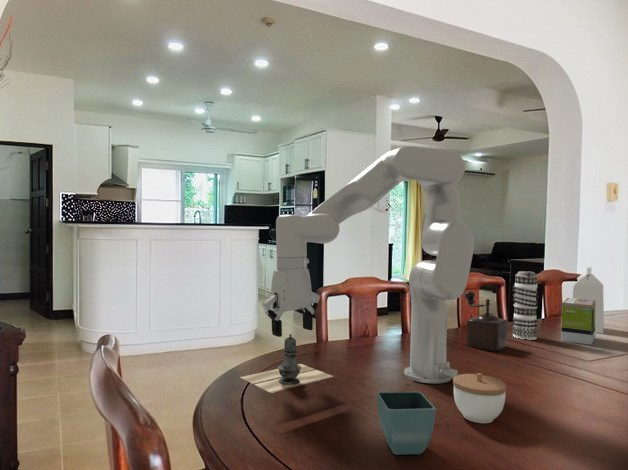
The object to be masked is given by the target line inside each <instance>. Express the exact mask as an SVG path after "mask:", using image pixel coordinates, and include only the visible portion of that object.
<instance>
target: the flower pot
mask: <svg viewBox="0 0 628 470" xmlns="http://www.w3.org/2000/svg"><path fill="white" fill-rule="evenodd" d="M376 400H377V401H376V403H377V413H378V421H379V425H380V428H381V432H382V434H383V437H384V438H385V441H386V443H387V444H388V446H389V449H391V450H390V451H391V452H392V454H393V455H401V456H402V455H421V454H423V452H425V450H426V449H427V447H428V445H429V444H430V442H431V439H432V435H433V430H434V424H435V417H436V411H437V409H436V407H435V406H434V404H433V403H432V402H431V401H430V400H429V399H428V398H427V396H425V395H424V393H422V392H421V391H377V392H376Z"/></svg>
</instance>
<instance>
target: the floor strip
mask: <svg viewBox="0 0 628 470" xmlns="http://www.w3.org/2000/svg"><path fill="white" fill-rule="evenodd" d="M296 364H297V363H296ZM297 365H299V366H301V369H300V373H304V372H308V371H312V370H316V368H314V367H310V366H308V365H305V364H302V363H298V364H297ZM300 373H299V374H300ZM239 378H240V379H242V380H244V381H245V382H248V383H249V384H252V385H255V384H259V383H263V382H267V381H271V380H275V379H279V378H283V377H282V376H281V375H280V372H279V369H278V368H275V369H272V370H271V369H270V370H267V371H261V372H258V373H253V374H250V375H249V374H248V375H244V376H240V377H239Z"/></svg>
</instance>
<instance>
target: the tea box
mask: <svg viewBox="0 0 628 470" xmlns="http://www.w3.org/2000/svg"><path fill="white" fill-rule="evenodd" d="M560 332H561V333H560V335H561V338H560V340H561V342H565V343H566V342H568V343H575V344H580V345H581V344H582V345H588V346H589V345H590V346H591V345H592V344H593V342H594V340H595V338H596V333H595V300H588V299H578V298H573V297H566V299H565V300H564V301H562V303H561V331H560Z"/></svg>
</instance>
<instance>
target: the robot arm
mask: <svg viewBox="0 0 628 470" xmlns="http://www.w3.org/2000/svg"><path fill="white" fill-rule="evenodd" d="M465 171H466V165H465V161H464V159H463V158H462V156H461V155H460V154H459V153H457V152H456V151H453V150H449V149H441V148H432V147H424V146H416V145H414V146H413V145H404V146H400V147H397V148H395V149H391V150H389V151H387V152H386V153H384V154H382V156H380V157H379V158H378V159H376V160H375V161H374V162H373V163H372V164H370V165H369V166H368V167H367V168H366V169H364V170H363V171H361V173H359V174H358V175H357V176H355V177H354V178H353V179H352V180H350V182H348V183H346V185H344V186H342V187H341V188H340V189H339V190H337V192H335V193H334V194H333V195H331V196H330V197H329V198H327V199H325V200H324V201H323V202H322V203H320V204H319V205H318V206H317V207H315V208H314V209H313V210H312V211H310V212H309V214H308V215H302V214H281V215H278V216H277V217H276V220H275V236H276V237H275V240H276V243H275V244H276V247H275V248H276V251H275V252H276V269H275V270H274V271H273V274H272V278H271V287H270V288H271V289H270V296H269V298H267V299H266V300H264V301H263V302H262V304H261V306H262V308H263V310H264V312H265V315H267V317H268V318H269V320H271V332H272V333H271V334H272V336H275V337H278V338H280V337H282V336H283V323H282V320H281V317H282V316H283V314H284V312H290V311H297V310H303V312H302V328H303V329H304V330H308V331H312V330H314V329H313V326H314V324H313V315H314V314H315V313H316V312H315V311H316V309H317V307H318V304H319V301H320V298H321V296H320V295H319V294H318V293H316V292H313V291H312V283H311V282H312V280H311V276H310V270H309V268H308V264H309V263H310V259H309V258H307V256H308V254H307V252H308V251H307V247H308V246H307V245H308V243H315V244H329V243H331V242H333V241H335V239H337V238H338V235H339V233H340V228H341V227H340V224H341V223H343V222H344V221H346V220H347V219H349V218H350V217H352V216H355V215H358V214H359V213H362V212H365V211H367V210H369V209H370V208H372V207H373V206H375V205H376V204H377V203H378V202H380V201H381V199H382V198H384V197H385V196H386V195H388V193H390V192H391V191H393V189H395V187H397V186H398V185H399V184H401V183H402V182H405V181H410V180H412V181H417V183H418V184H419V185H420V187H421V189H423V192H424V193H425V195H426V198H427V207H426V213H425V219H424V223H423V228H422V233H421V239H420V241H421V248H422V250H423V251H424V252H426V253H427V254H429V255H431V256H433V257H436V260H430V259H427V260H421V261H418V262H417V263H416V264H414V265H413V267H412V268H411V270H410V273H409V276H408V277H409V278H408V279H409V280H408V285H409V290H410V301H411V305H410V307H411V312H410V313H411V318H410V348H409V349H410V351H409V353H410V354H409V366H407V367H405V368H404V371H403V376H405V377H406V378H407V379H411V380H413V381H415V382H417V383H423V384H433V385H434V384H445V383H449V382H450V381H452V380H453V378H454V377H455V376H457V375H459V371H458V369H454V368H451V363H450V361H447V336H448V334H447V333H448V305H447V301H448V302H449V301H455V300H456V299H458V298H460V297H461V296H462V295H463V293H464V292H465V290H466V288H467V284H468V280H469V276H470V271H471V270H470V269H471V265H472V260H473V254H474V250H475V237H474V234H473V232H472V230H471V228H470V227H469V226H468V225H467V224H465V223H464V222H461V221H459V214H460V207H461V202H460V201H461V200H460V195H459V192H458V190H457V189H456V186H455V184H456V183H457V182H458V181H460V180H461V179H462V177H463V176H464V175H465V174H464V173H465Z"/></svg>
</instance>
